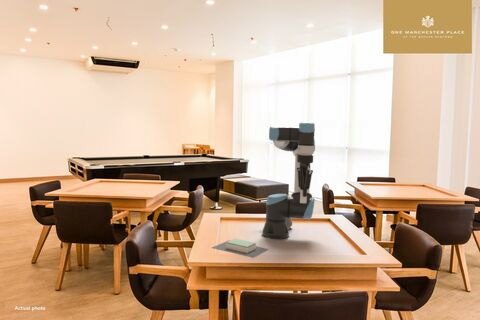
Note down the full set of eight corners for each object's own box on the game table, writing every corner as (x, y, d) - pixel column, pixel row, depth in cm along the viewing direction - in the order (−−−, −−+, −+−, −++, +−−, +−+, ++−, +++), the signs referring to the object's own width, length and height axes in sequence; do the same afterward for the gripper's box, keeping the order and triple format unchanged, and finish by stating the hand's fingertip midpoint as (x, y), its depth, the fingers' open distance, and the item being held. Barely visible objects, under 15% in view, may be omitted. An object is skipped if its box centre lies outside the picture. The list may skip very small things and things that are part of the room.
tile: (255, 242, 183) (235, 238, 190) (247, 246, 177) (226, 242, 183) (255, 248, 184) (235, 244, 190) (247, 253, 177) (226, 248, 183)
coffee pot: (291, 225, 234) (292, 202, 233) (293, 230, 223) (294, 205, 221) (257, 224, 235) (258, 200, 234) (257, 228, 224) (258, 204, 223)
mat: (269, 249, 184) (269, 249, 184) (253, 258, 170) (253, 257, 170) (229, 241, 197) (229, 240, 197) (211, 248, 183) (211, 247, 183)
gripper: (292, 153, 184) (290, 200, 186) (304, 155, 172) (301, 205, 174) (306, 153, 186) (304, 200, 188) (318, 155, 174) (316, 205, 176)
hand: (303, 202), depth 181 cm, fingers closed
